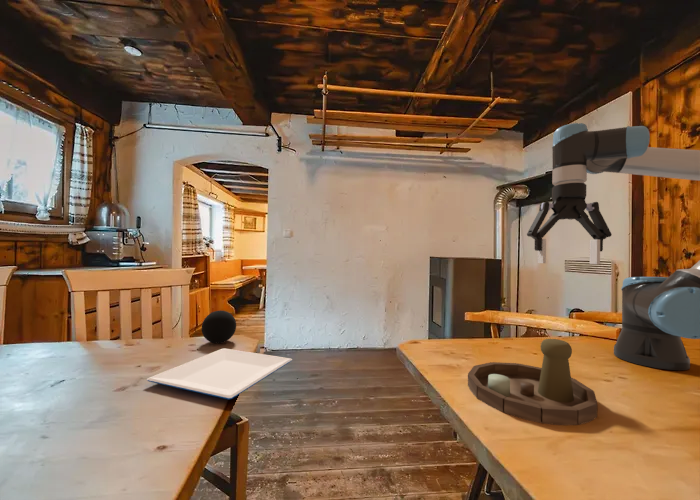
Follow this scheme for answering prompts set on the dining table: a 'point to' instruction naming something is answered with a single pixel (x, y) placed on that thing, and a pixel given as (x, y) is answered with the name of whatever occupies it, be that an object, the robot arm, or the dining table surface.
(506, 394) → the pale beige rounded lump
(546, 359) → the olive green knobbed peg
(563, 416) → the tray
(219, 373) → the plate
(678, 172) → the robot arm
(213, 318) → the decorative ball
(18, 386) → the dining table surface
